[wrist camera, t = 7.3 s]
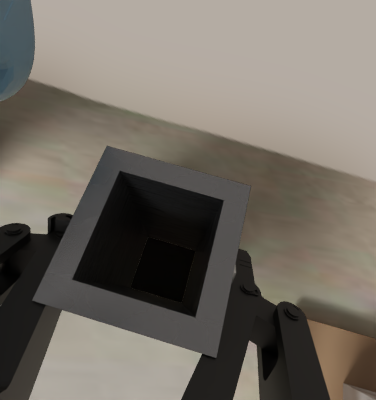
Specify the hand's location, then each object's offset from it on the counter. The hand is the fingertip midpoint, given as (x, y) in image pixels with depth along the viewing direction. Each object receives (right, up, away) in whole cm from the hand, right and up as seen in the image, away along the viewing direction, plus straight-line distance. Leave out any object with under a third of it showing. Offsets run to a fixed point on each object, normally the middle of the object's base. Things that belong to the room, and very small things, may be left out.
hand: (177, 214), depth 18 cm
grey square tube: (-1, -5, +2) cm, 5 cm away
